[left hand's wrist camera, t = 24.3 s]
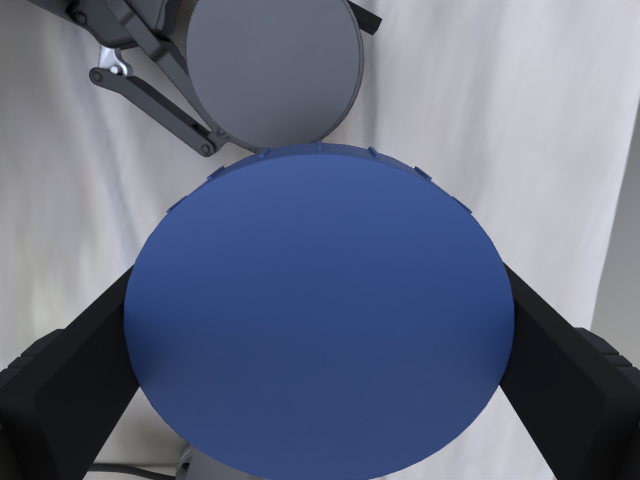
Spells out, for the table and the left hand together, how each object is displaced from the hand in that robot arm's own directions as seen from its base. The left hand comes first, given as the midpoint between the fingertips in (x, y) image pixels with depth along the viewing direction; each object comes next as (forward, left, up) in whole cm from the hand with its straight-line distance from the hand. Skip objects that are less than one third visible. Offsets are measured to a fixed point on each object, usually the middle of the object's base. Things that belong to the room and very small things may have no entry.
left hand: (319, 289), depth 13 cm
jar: (-1, +8, -25) cm, 26 cm away
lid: (0, 0, +3) cm, 3 cm away
